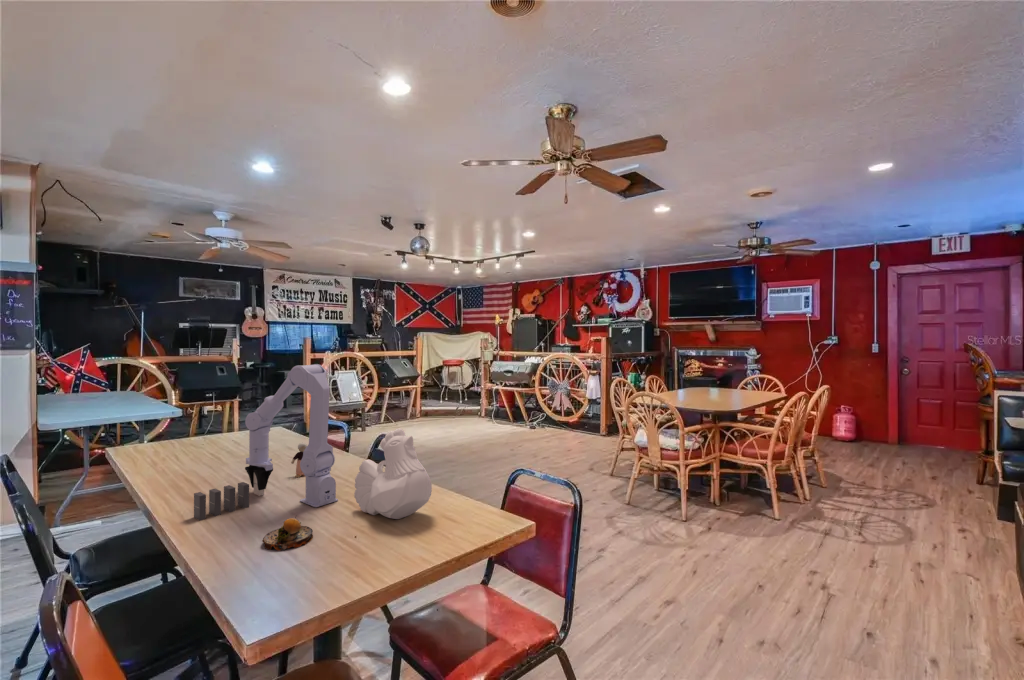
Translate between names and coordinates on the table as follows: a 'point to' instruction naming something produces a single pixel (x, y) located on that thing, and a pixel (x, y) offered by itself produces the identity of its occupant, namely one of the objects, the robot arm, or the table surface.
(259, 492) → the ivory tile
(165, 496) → the table surface
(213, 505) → the tile
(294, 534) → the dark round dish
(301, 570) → the table surface
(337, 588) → the table surface
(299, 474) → the grandmother figurine
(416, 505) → the decorative rooster
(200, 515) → the tile
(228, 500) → the tile
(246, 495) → the tile
